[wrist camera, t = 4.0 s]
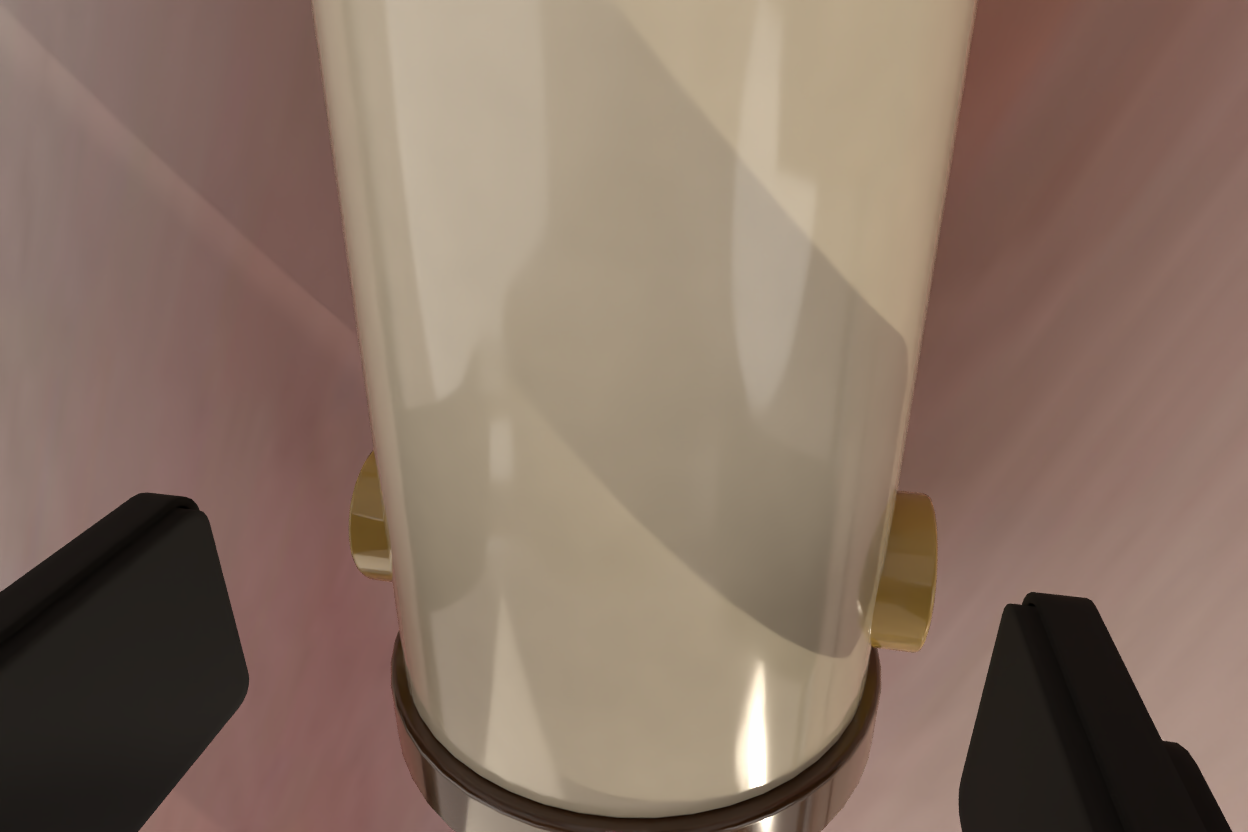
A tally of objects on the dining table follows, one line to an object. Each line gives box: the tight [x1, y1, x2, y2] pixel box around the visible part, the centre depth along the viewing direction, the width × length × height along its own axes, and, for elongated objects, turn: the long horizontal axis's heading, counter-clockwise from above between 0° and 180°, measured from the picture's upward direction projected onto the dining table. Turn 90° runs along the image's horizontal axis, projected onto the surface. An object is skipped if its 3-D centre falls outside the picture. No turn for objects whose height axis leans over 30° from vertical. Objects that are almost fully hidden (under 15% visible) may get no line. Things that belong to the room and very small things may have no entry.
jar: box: [311, 0, 978, 832], centre depth 10 cm, size 7×7×11 cm
